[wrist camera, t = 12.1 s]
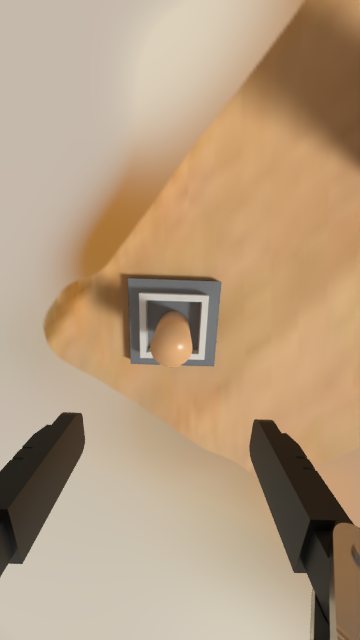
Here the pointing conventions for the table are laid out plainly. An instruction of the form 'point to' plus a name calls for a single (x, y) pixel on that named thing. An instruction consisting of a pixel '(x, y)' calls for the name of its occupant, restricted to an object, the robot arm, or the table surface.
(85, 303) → the table surface
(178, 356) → the brown peg
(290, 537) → the robot arm
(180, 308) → the housing
